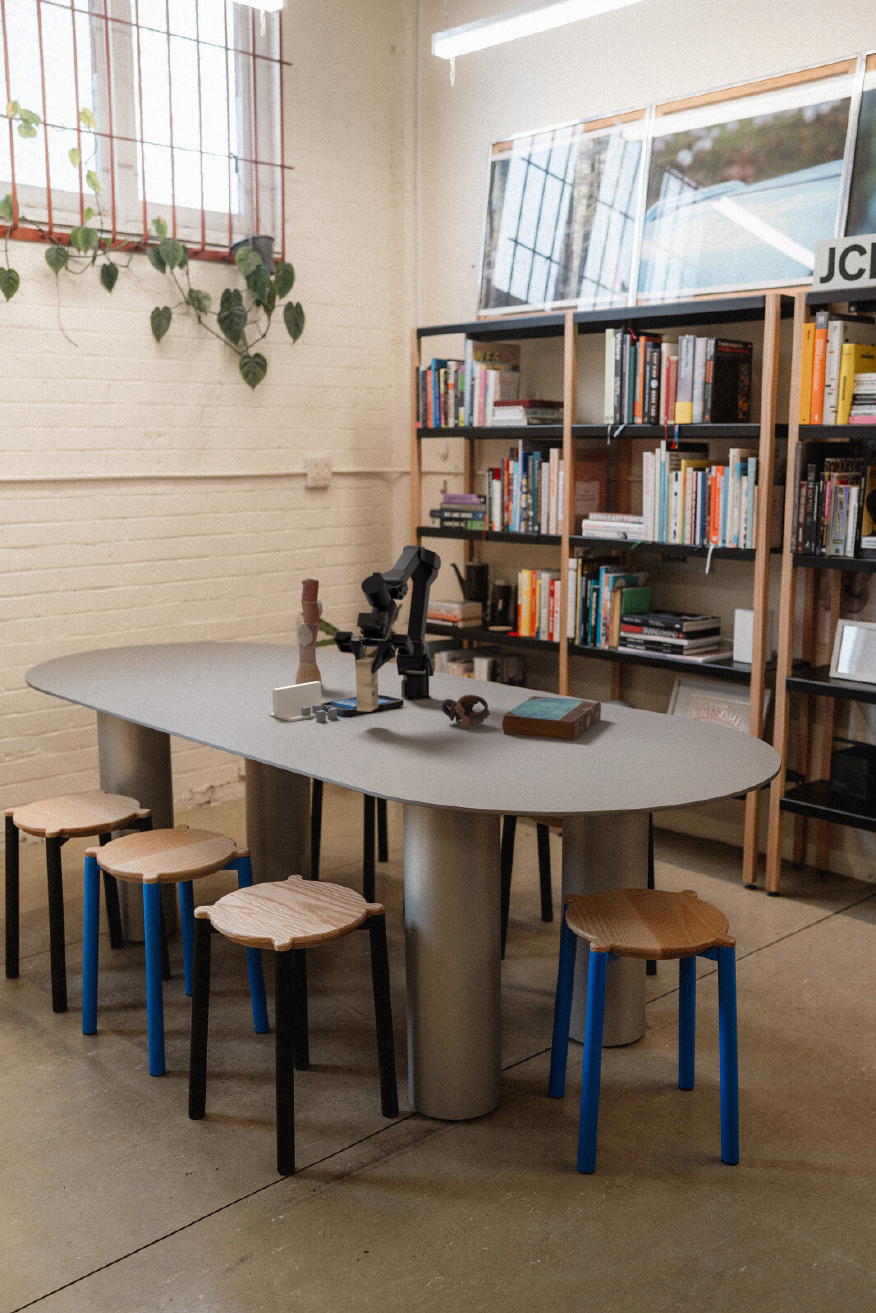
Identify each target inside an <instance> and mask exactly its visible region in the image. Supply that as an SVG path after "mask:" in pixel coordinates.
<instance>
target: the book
mask: <svg viewBox="0 0 876 1313" xmlns="http://www.w3.org/2000/svg"><path fill="white" fill-rule="evenodd" d="M502 716H503V719H502V724H501V726H502V727H501V728H502V731H503V734H504V735H511V736H512V735H514V736H524V737H534V738H535V737H536V738H546V739H557V740H567V741H573V742H575V740H577V739H578V738H579V737H581V736H582V735H583V734H584V733H585V732H587V731H588V730H589V729H591V728H592V727H593V726H594V725H595V724H597V722H599V721H600V720H601V716H602V703H601V701H597V702H595V701H590V700H583V699H576V698H574V699H572V698H564V697H563V698H561V697H560V698H559V697H549V696H548V697H547V696H539V695H538V696H536V695H533V696H531V697H530V698H528V699H527V700H524V701H523V702H522V703H520V704H519V705H517V706H515V707H514V708H512V709H510V710H508V711H507V712H505V713H504V714H503V715H502Z"/></svg>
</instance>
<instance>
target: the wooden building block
mask: <svg viewBox="0 0 876 1313" xmlns="http://www.w3.org/2000/svg"><path fill="white" fill-rule="evenodd" d="M374 660H375V657H367V656H366V657H363V658H361V659H359V660H357V661H356V664H355V677H356V678H355V680H356V681H355V683H356V691H355V692H356V711H357V712H372V711H374V710H376V709H378V708H379V669H378V670H377V671H376V672H375V673H374V674H372V672H371V670H372V665H373V663H374Z"/></svg>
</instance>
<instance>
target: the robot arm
mask: <svg viewBox="0 0 876 1313" xmlns="http://www.w3.org/2000/svg"><path fill="white" fill-rule="evenodd" d="M441 566H442V560H441V557H440V555H439V554H437V552H435V551H433V550H430V549H427V548H426V547H425V546H422V545H417V544H416V545H414V544H413V545H412V544H411V545H405V546H403V549H402V552H401V555H400V556H399V558H398V559H397V560H396V561H395V563H394V564H393V567H392V568H391V569H390V570H388V571H385V572H383V573H382V572H380V571H379V572H378V571H377V572H373V573H372V575H370V576H368V577H366V578H364V580H363V581H362V582H361V584H360V585H361V586H360V587H361V591H362V593H363V595H364V597H365V599H366V601H367V603H368V606H370V607H372V609H371V611H370V612H358V614H357V622H356V627H358V628H360V631H359V632H360V634H361V635H363V637H362V636H360V635H355V634H354V633H353V631H352V630H351V631H350V630H349V631H348V630H338V631H336V632H335V634H334V637H333V640H334V642H335V645H336V646H337V649H338V650H339V652H341V653H344V654H353V655H354V659H355V660H354V664H355V665H356V661H357V660H359V659H361V658H363V657H367V654H366V652H365V650H364V649H365V648H377V652H376V655H375V656H374V658H375V660H374V663H373V665H372V670H371V672H372V674H374V673H375V672H376V671H377V670H378V671H379V670H380V669H381V667H383V666H384V665H385V664H386V663H387V662H389V661H390V660H392V659H395V662H396V668H397V674H398V676H402V677H403V678H402V679H401V681H400V682H401V687H400V688H401V689H400V692H401V695H400V696H401V697H402V698H404V699H406V700H408V701H416V700H418V701H419V700H431V699H432V696H431V695H430V677H433V676H434V672H435V664H434V662H433V659H432V657H431V655H430V647H429V646H428V644H427V641H426V639H425V638H426V629H427V622H428V621H427V619H428V613H429V612H428V611H429V603H430V592H431V586H432V585H433V583H434V582H435V581H436V579H437V578H438V576H439V575H438V574H439V570H440V568H441ZM409 579H411V581H412V589H411V598H410V607H409V614H408V622H407V623H408V626H407V632H406V633H393V628H392V625H393V622H394V618H395V616H398V615H399V613H398V605H397V602H396V601H403V600H404V599H405V597H406V596H407V594H408V591H409V586H408V581H409ZM390 634H391V638H390V639H389V636H390ZM396 653H397V654H396Z"/></svg>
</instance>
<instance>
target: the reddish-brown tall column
mask: <svg viewBox="0 0 876 1313" xmlns="http://www.w3.org/2000/svg"><path fill="white" fill-rule="evenodd" d="M301 583H302V591H301V592H302V593H301V601H300V602H301V608H302V614H303V622H301V623H299V625H298V627H297V630H296V631H297V632H296V637H297V639H298V642H299V643H298V651H299V652H298V653H299V656H298V658H299V664H298V667H297V669H296V674H295V681H294V682H295V684H294V685H298V684H304V683H309V682H314V681H319V682H321V686H322V685H323V682H322V676H321V671H320V669H319V666H318V663H317V659H316V658H317V657H316V654H317V652H316V644H317V640H318V639H317V638H318V634H319V630H320V625H321V620H320V618H321V617H322V615H323V612H324V611H323V604H322V601H321V600H320V599H318V595H319V588H320V582H319V579H314V578H307V577H306V578H303V579H302V581H301Z"/></svg>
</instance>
